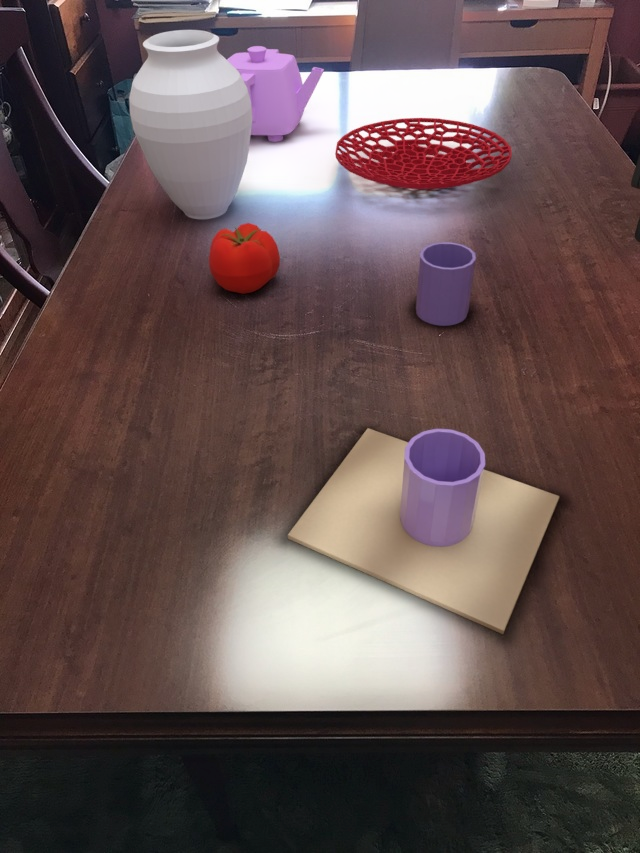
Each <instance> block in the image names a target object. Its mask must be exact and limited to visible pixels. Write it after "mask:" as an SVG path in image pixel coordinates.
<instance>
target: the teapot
mask: <svg viewBox="0 0 640 853" xmlns="http://www.w3.org/2000/svg"><path fill="white" fill-rule="evenodd" d="M226 60H227V61H228V62H229V63H230V64H231V65H232V66H233V67H234V68H236V69H237V70H238V72H239V73H240V75H241V77H242V79H243V81H244V83H245V85H246V87H247V89H248V93H249V97H250V100H251V108H252V127H251V136H267V140H268V141H269V142H272V143H273V142H275V143H276V142H281V141H283V140H284V136H286V135H290V134H291V133H292V132H293V131H294V130H295V129H296V128H297V127H298V125H299V124H300V122H301V120H302V117H303V115H304V112H305V108H306V107H307V105H308V103H309V101H310V99H311V98H312V95H313V93H314V91H315V89H316V87H317V86H318V83H319V81H320V79H321V78H322V76H323V73H324V71H325V69H324V68H321V67H316V66H313V67H312V68H311V72H310V73H309V75H308V76H307V77H306V79H305V81H304V82H303V79H302V76H301V71H300V69H299V66H298V63H297V62H298V61H297V59H296V57H295V56H294V55H293V54H289V53H280V51H279V49H276V48H267V47H265V46H263V45H262V46H261V45H254V46H250V47H249V48H247V51H245V52H236V53H234V54H231V56H229V57H228V58H227V59H226Z"/></svg>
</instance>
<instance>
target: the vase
mask: <svg viewBox="0 0 640 853" xmlns="http://www.w3.org/2000/svg"><path fill="white" fill-rule="evenodd" d="M219 42H220V37H219V36H218V35H216V34H215V33H212V32H209V31H205V30H201V29H178V30H170V31H164V32H159V33H157V34H154V35H152V36H150V37H148V38H147V39H145V40H144V41H143V42H142V46H143V48H144V49H145V51H146V52H147V59H146V60H145V61H144V63H143V64H142V65H141V67H140V69H139V70H138V72H137V73H136V75H135V77H134V78H133V80H132V83H131V88H130V93H129V98H128V102H129V104H128V105H129V115H130V121H131V126H132V131H133V133H134V135H135V137H136V140H137V143H138V145H139V147H140V149H141V152H142V153H143V156H144V158H145V161H146V163H147V165H148V167H149V169H150V171H151V173H152V174H153V176H154V177H155V179H156V180H157V182H158V183H159V185H160V186H161V188H162V189H163V191H164V192H165V193H166V195H167V196H168V198H169V199H170V200H171V201H172V203H173V204H174V205H175V206H176V207H177V208H178V209H179V210H181V211H182V212H183V214H184V215H185V216H186V217H188V218H190V219H193V220H209V219H210V220H211V219H215V218H218V217H221V216H222V215H224V214H225V213H226V212H228V209H229V206H230V205H232V202H233V201H234V198H235V196H236V194H237V192H238V189H239V187H240V184H241V181H242V178H243V176H244V173H245V168H246V165H247V163H248V157H249V150H250V142H251V136H252V135H251V127H252V108H251V100H250V97H249V93H248V89H247V87H246V85H245V83H244V81H243V79H242V77H241V75H240V73H239V72H238V70H237V69H236V68H234V67H233V66H232V65H231V64H230V63H229V62H228V61H227V59H226V57H224V56H223V55H222V54H221V53H220V52H219V51H218V45H219Z"/></svg>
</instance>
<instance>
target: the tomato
mask: <svg viewBox="0 0 640 853" xmlns="http://www.w3.org/2000/svg"><path fill="white" fill-rule="evenodd" d="M234 229H235V230H230V229H229V228H222V229H219V230H218V232H217V233H215V235H214V237H213V238H212V240H211V243H210V250H209V256H208V265H209V270H210V274H211V275H212V277H213V279H214V280H215V282H216V283H217V285H218V286H220V287H221V288H223V289H224V290H226V291H228V292H234V293H237V294H242V295H245V294H250V293H253V292H254V293H255V292H256V291H258V290H260V289H262V287H264V286H265V285H266V284H267V283H268V282H270V280H273V278H274V277H276V275H277V273H278V270H279V268H280V265H281V264H280V262H281V261H280V260H281V257H280V251H279V248H278V245H277V242H276V240H275V239H274V236H272V235H271V234H270V233H269V232H268V231H266V230H262V228H259V226H258V225H257V224H254V223H250V222H247V223H243V224H240V225H239V226H238V227H236V226H234Z"/></svg>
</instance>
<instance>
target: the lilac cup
mask: <svg viewBox="0 0 640 853" xmlns="http://www.w3.org/2000/svg"><path fill="white" fill-rule="evenodd" d="M476 260H477V257H476V252H475V251H474V250H473V249H472V248H470V247H468V246H466V245H465V244H461V243H457V242H452V241H451V242H449V241H440V242H434V243H431V244H428V245H426V246H424V247H423V248H422V249H421V250H420V252H419V262H418V263H419V264H418V273H417V274H418V276H417V289H416V300H415V301H416V302H415V313H416V315H417V317H418V318H419V319H420V320H422V321H423V322H425V323H428V324H430V325H434V326H441V327H442V326H443V327H446V326H447V327H448V326H453V325H454V326H455V325H457V324H459V323H462V322H464V321H465V320H466V318H467V317H468V315H469V314H468V313H469V311H470V310H469V309H470V303H471V296H472V288H473V281H474V274H475V267H476Z"/></svg>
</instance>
